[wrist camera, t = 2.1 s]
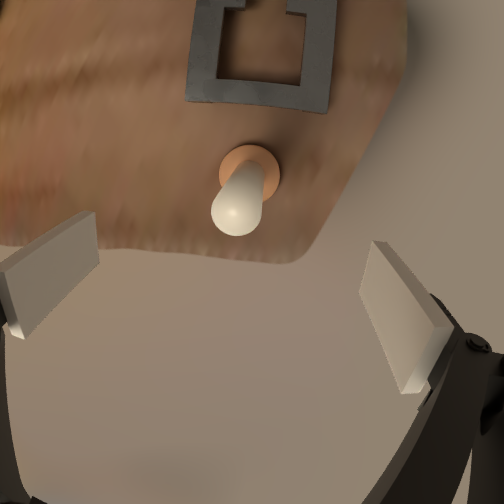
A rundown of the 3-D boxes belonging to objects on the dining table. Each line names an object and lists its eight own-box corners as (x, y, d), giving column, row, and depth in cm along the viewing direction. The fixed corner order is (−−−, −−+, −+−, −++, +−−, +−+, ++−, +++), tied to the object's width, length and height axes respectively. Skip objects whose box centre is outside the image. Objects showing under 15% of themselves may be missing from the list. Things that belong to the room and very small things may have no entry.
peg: (223, 142, 30) (189, 158, 17) (282, 147, 30) (292, 168, 17) (218, 198, 33) (186, 252, 20) (275, 204, 33) (279, 262, 20)
